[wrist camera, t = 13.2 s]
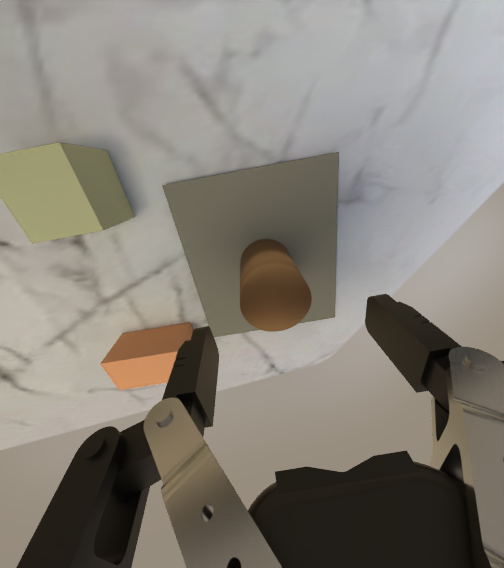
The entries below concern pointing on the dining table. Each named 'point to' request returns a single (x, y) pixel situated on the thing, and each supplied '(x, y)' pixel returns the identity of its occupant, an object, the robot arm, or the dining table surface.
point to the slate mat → (259, 231)
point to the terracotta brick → (145, 355)
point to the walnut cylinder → (272, 287)
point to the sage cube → (62, 191)
